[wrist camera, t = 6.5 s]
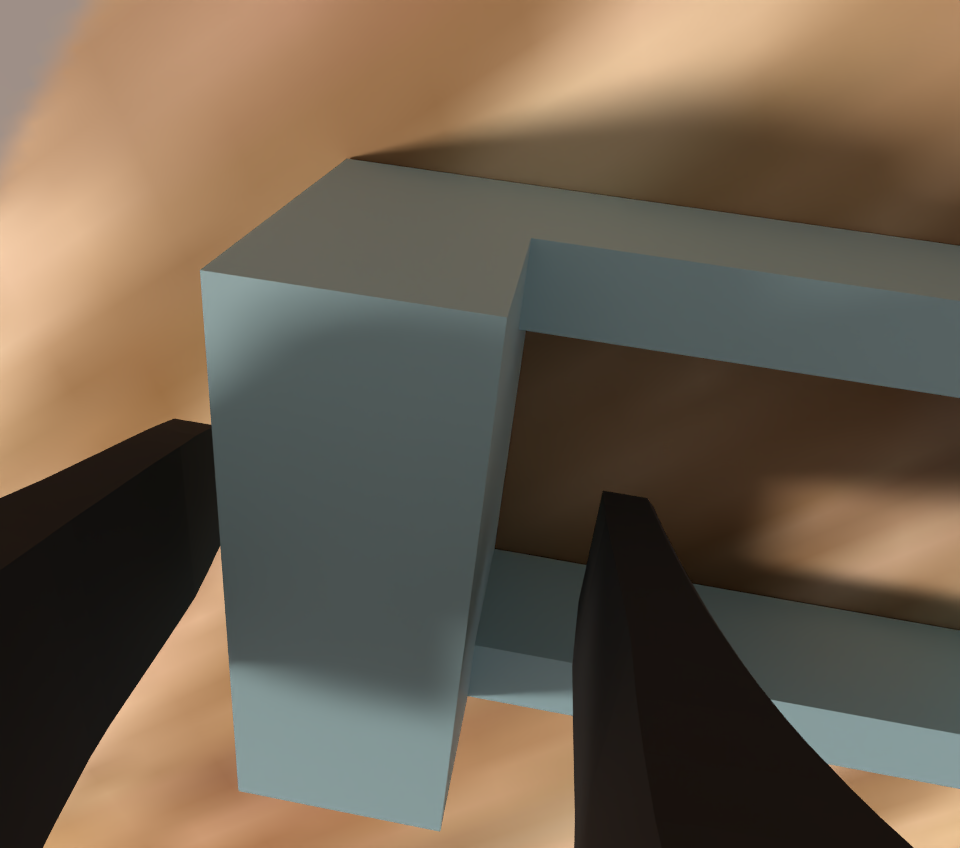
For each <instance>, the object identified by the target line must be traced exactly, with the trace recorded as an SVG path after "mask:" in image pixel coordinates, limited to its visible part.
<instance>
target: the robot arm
mask: <svg viewBox="0 0 960 848" xmlns="http://www.w3.org/2000/svg"><path fill="white" fill-rule="evenodd" d="M219 547H220V533H219V519H218V506H217V492H216V479H215V465H214V452H213V438H212V425H209V424H203V423H197V422H191V421H185V420H179V419H172V420H170V421H167V422H164V423H162V424H159V425H157V426H155V427H152V428H150V429H148V430H146V431H144V432H142V433H139V434H137V435H135V436H133V437H131V438H129V439H127V440H125V441H123V442H121V443H118V444H116V445H114V446H112V447H110V448H108V449H106V450H104V451H102V452H100V453H98V454H96V455H94V456H92V457H89V458H87V459H85V460H83V461H81V462H79V463H77V464H75V465H73V466H71V467H68V468H66V469H64V470H62V471H60V472H58V473H56V474H54V475H52V476H50V477H47V478H45V479H43V480H41V481H39V482H36V483H34V484H32V485H29V486H27V487H25V488H23V489H20V490H18V491H16V492H13V493H11V494H9V495H6V496H4V497H2V498H0V848H43V846H44V844H45V842H46V840H47V838H48V836H49V834H50V832H51V830H52V828H53V826H54V824H55V822H56V820H57V819H58V817H59V815H60V813H61V811H62V809H63V807H64V805H65V804H66V802H67V800H68V798H69V796H70V794H71V792H72V790H73V789H74V787H75V785H76V783H77V781H78V779H79V777H80V775H81V774H82V772H83V770H84V768H85V766H86V764H87V762H88V760H89V759H90V757H91V755H92V753H93V752H94V750H95V748H96V747H97V745H98V744H99V742H100V740H101V739H102V737H103V735H104V734H105V732H106V730H107V729H108V727H109V726H110V724H111V723H112V721H113V720H114V718H115V717H116V715H117V714H118V712H119V711H120V709H121V708H122V706H123V705H124V703H125V702H126V700H127V699H128V697H129V696H130V694H131V693H132V691H133V690H134V688H135V687H136V685H137V684H138V682H139V681H140V680H141V678H142V677H143V675H144V674H145V672H146V671H147V669H148V668H149V666H150V665H151V663H152V662H153V660H154V659H155V657H156V656H157V654H158V653H159V651H160V650H161V648H162V647H163V645H164V644H165V642H166V641H167V639H168V638H169V636H170V635H171V633H172V632H173V630H174V629H175V627H176V626H177V624H178V623H179V621H180V620H181V618H182V617H183V615H184V614H185V612H186V611H187V609H188V607H189V606H190V604H191V603H192V601H193V600H194V598H195V596H196V594H197V592H198V590H199V588H200V586H201V584H202V582H203V580H204V578H205V576H206V575H207V573H208V570H209V568H210V566H211V564H212V562H213V560H214V558H215V555H216V553H217V551H218V549H219ZM572 692H573V744H574V792H575V842H574V848H913V847H912V846H911V845H910V844H909V843H908V842H907V841H906V840H905V839H903V838H902V837H901V836H900V835H899V834H898V833H897V832H896V831H895V830H894V829H892V828H891V827H890V826H889V825H888V824H887V823H886V822H885V821H884V820H883V819H882V818H880V817H879V816H878V815H877V814H876V813H875V812H874V811H873V810H872V809H871V808H870V807H869V806H868V805H867V804H866V803H865V802H864V801H863V800H862V799H861V798H860V797H859V796H858V795H857V794H856V793H855V792H854V791H853V790H852V789H851V788H850V787H849V786H848V785H847V784H846V783H845V782H844V781H843V780H842V779H841V778H840V777H839V776H838V775H837V774H836V773H835V772H834V770H833V769H832V768H831V767H830V766H829V765H828V764H827V763H826V762H825V761H824V760H823V759H822V758H821V757H820V756H819V755H818V754H817V753H816V752H815V750H814V749H813V748H812V747H811V746H810V745H809V744H808V743H807V742H806V741H805V740H804V739H803V737H802V736H801V735H800V734H799V733H798V732H797V731H796V729H795V728H794V727H793V726H792V725H791V724H790V723H789V721H788V720H787V719H786V718H785V717H784V715H783V714H782V713H781V712H780V711H779V709H778V708H777V707H776V706H775V704H774V703H773V702H772V701H771V699H770V698H769V697H768V696H767V695H766V693H765V692H764V691H763V690H762V688H761V687H760V686H759V684H758V683H757V682H756V680H755V679H754V678H753V676H752V675H751V674H750V672H749V671H748V669H747V668H746V667H745V665H744V664H743V662H742V661H741V660H740V658H739V657H738V655H737V654H736V652H735V651H734V649H733V648H732V646H731V645H730V643H729V642H728V641H727V639H726V638H725V636H724V635H723V633H722V632H721V630H720V629H719V627H718V625H717V624H716V622H715V621H714V619H713V617H712V616H711V614H710V613H709V611H708V609H707V608H706V606H705V604H704V603H703V601H702V599H701V598H700V596H699V594H698V592H697V591H696V589H695V587H694V586H693V584H692V582H691V581H690V579H689V577H688V575H687V573H686V572H685V570H684V568H683V566H682V564H681V562H680V561H679V559H678V557H677V555H676V553H675V551H674V549H673V547H672V545H671V543H670V541H669V539H668V537H667V535H666V533H665V531H664V529H663V527H662V525H661V522H660V520H659V518H658V516H657V514H656V511H655V509H654V507H653V505H652V504H651V503H650V501H649V500H648V498H643V497H637V496H631V495H625V494H619V493H613V492H607V491H603V493H602V497H601V502H600V507H599V511H598V516H597V520H596V525H595V529H594V534H593V538H592V543H591V547H590V552H589V556H588V561H587V565H586V570H585V574H584V579H583V584H582V588H581V593H580V597H579V602H578V611H577V621H576V631H575V641H574V652H573V663H572Z"/></svg>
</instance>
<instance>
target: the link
mask: <svg viewBox="0 0 960 848" xmlns="http://www.w3.org/2000/svg"><path fill="white" fill-rule="evenodd" d="M200 277H201V290H202V304H203V317H204V330H205V344H206V357H207V371H208V384H209V398H210V411H211V425H212V438H213V452H214V465H215V479H216V492H217V506H218V519H219V533H220V546H221V560H222V573H223V587H224V600H225V614H226V627H227V640H228V654H229V667H230V681H231V694H232V708H233V721H234V735H235V748H236V762H237V775H238V789H239V791H242V792H247V793H252V794H257V795H262V796H267V797H271V798H276V799H281V800H286V801H291V802H296V803H301V804H306V805H311V806H316V807H321V808H326V809H331V810H336V811H341V812H346V813H351V814H356V815H361V816H366V817H371V818H376V819H381V820H386V821H391V822H396V823H400V824H405V825H410V826H415V827H420V828H425V829H430V830H435V831H440V830H441V825H442V820H443V815H444V810H445V805H446V800H447V795H448V790H449V785H450V780H451V775H452V770H453V765H454V761H455V756H456V751H457V746H458V741H459V736H460V731H461V726H462V721H463V716H464V711H465V706H466V701H467V696H471V697H476V698H481V699H487V700H492V701H497V702H503V703H508V704H513V705H518V706H524V707H529V708H534V709H540V710H545V711H550V712H556V713H561V714H566V715H571V716H573V692H572V663H573V652H574V641H575V631H576V621H577V611H578V602H579V597H580V593H581V588H582V584H583V579H584V574H585V570H586V565H584V564H578V563H572V562H566V561H561V560H555V559H549V558H544V557H538V556H532V555H527V554H521V553H515V552H509V551H504V550H498V549H495V542H496V535H497V528H498V521H499V514H500V507H501V500H502V493H503V486H504V479H505V472H506V466H507V459H508V452H509V445H510V438H511V431H512V424H513V417H514V410H515V403H516V396H517V389H518V382H519V375H520V369H521V362H522V355H523V348H524V341H525V334H526V331H532V332H538V333H545V334H551V335H557V336H564V337H570V338H577V339H583V340H590V341H596V342H603V343H609V344H615V345H622V346H628V347H635V348H641V349H648V350H654V351H660V352H667V353H673V354H680V355H686V356H693V357H699V358H706V359H712V360H718V361H725V362H731V363H738V364H744V365H751V366H757V367H763V368H770V369H776V370H783V371H789V372H796V373H802V374H809V375H815V376H821V377H828V378H834V379H841V380H847V381H854V382H860V383H866V384H873V385H879V386H886V387H892V388H899V389H905V390H912V391H918V392H924V393H931V394H937V395H944V396H950V397H957V398H960V246H958V245H951V244H944V243H937V242H930V241H923V240H916V239H909V238H902V237H895V236H888V235H881V234H874V233H866V232H859V231H852V230H845V229H838V228H831V227H824V226H817V225H810V224H803V223H796V222H789V221H782V220H775V219H768V218H761V217H754V216H747V215H740V214H733V213H726V212H719V211H712V210H705V209H698V208H691V207H684V206H677V205H670V204H663V203H656V202H649V201H642V200H635V199H628V198H620V197H613V196H606V195H599V194H592V193H585V192H578V191H571V190H564V189H557V188H550V187H543V186H536V185H529V184H522V183H515V182H508V181H501V180H494V179H487V178H480V177H473V176H466V175H459V174H452V173H445V172H438V171H431V170H424V169H417V168H410V167H403V166H396V165H389V164H382V163H374V162H367V161H360V160H353V159H346V160H344V161H343V162H342V163H341V164H339V165H338V166H337V167H335V168H334V169H333V170H331V171H330V172H329V173H327V174H326V175H325V176H323V177H322V178H321V179H319V180H318V181H317V182H315V183H314V184H313V185H312V186H310V187H309V188H308V189H306V190H305V191H304V192H302V193H301V194H300V195H298V196H297V197H296V198H294V199H293V200H292V201H290V202H289V203H288V204H286V205H285V206H284V207H283V208H281V209H280V210H279V211H277V212H276V213H275V214H273V215H272V216H271V217H269V218H268V219H267V220H265V221H264V222H263V223H261V224H260V225H259V226H257V227H256V228H255V229H254V230H252V231H251V232H250V233H248V234H247V235H246V236H244V237H243V238H242V239H240V240H239V241H238V242H236V243H235V244H234V245H232V246H231V247H230V248H229V249H227V250H226V251H225V252H223V253H222V254H221V255H219V256H218V257H217V258H215V259H214V260H213V261H211V262H210V263H209V264H207V265H206V266H205V267H203V268H202V269H201V270H200ZM693 586H694V587H695V589H696V591H697V592H698V594H699V596H700V598H701V599H702V601H703V603H704V604H705V606H706V608H707V609H708V611H709V613H710V614H711V616H712V617H713V619H714V621H715V622H716V624H717V625H718V627H719V629H720V630H721V632H722V633H723V635H724V636H725V638H726V639H727V641H728V642H729V643H730V645H731V646H732V648H733V649H734V651H735V652H736V654H737V655H738V657H739V658H740V660H741V661H742V662H743V664H744V665H745V667H746V668H747V669H748V671H749V672H750V674H751V675H752V676H753V678H754V679H755V680H756V682H757V683H758V684H759V686H760V687H761V688H762V690H763V691H764V692H765V693H766V695H767V696H768V697H769V698H770V699H771V701H772V702H773V703H774V704H775V706H776V707H777V708H778V709H779V711H780V712H781V713H782V714H783V715H784V717H785V718H786V719H787V720H788V721H789V723H790V724H791V725H792V726H793V727H794V728H795V729H796V731H797V732H798V733H799V734H800V735H801V736H802V737H803V739H804V740H805V741H806V742H807V743H808V744H809V745H810V746H811V747H812V748H813V749H814V750H815V752H816V753H817V754H818V755H819V756H820V757H821V758H822V759H823V760H824V761H825V762H826V763H827V764H831V765H836V766H841V767H847V768H852V769H857V770H863V771H868V772H873V773H879V774H884V775H889V776H894V777H900V778H905V779H910V780H916V781H921V782H926V783H931V784H937V785H942V786H947V787H953V788H958V789H960V630H954V629H949V628H943V627H937V626H932V625H926V624H920V623H914V622H909V621H903V620H897V619H892V618H886V617H880V616H875V615H869V614H863V613H857V612H852V611H846V610H840V609H835V608H829V607H823V606H817V605H812V604H806V603H800V602H795V601H789V600H783V599H778V598H772V597H766V596H760V595H755V594H749V593H743V592H738V591H732V590H726V589H720V588H715V587H709V586H703V585H698V584H693Z"/></svg>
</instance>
